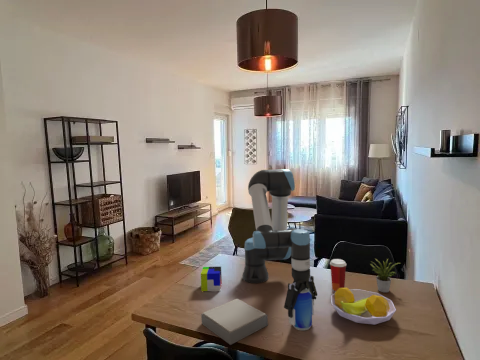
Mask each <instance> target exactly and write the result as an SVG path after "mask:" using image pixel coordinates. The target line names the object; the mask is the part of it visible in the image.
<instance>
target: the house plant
mask: <svg viewBox="0 0 480 360" xmlns="http://www.w3.org/2000/svg"><path fill="white" fill-rule="evenodd" d="M374 259H375V261H376V262H377V263H378V265H379V266H378V265H377V264H376V263H375V262H373V261H371V263H369V265H370V266H371V267H372V271H374V273H376V274H378V275H377V276H376V277H375V279H376V286H377V290H378V291H379V292H381V293H389V292H390V288H391V283H392V278H391V277H392V276H395V274H396V271H391V270H393V269H394V268H395V266H396V265H398V264H401V262H397V263H396V262H395V263H394V264H392V262H388V261H389V258H386V260H385V261H384V260H382V262H383V265H382V263H381V261H380V260H378V259H377V258H374ZM373 264H374V265H375V266H374V265H373ZM391 264H392V265H391Z"/></svg>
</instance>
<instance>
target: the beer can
mask: <svg viewBox="0 0 480 360" xmlns="http://www.w3.org/2000/svg"><path fill="white" fill-rule="evenodd" d="M295 290H296V289H295ZM296 291H298V290H296ZM294 309H295V325H292V326H293V328H294V329H295V330H298V331H308V330H309V329H311V327H312V326H313V315H312V294H311V292H310V291H309V288H308V289H307V288H305V290H302V291H301V292H300V294H299V295H298V298H297V301H296V303H295V306H294Z"/></svg>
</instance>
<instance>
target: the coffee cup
mask: <svg viewBox="0 0 480 360" xmlns="http://www.w3.org/2000/svg"><path fill="white" fill-rule="evenodd" d="M329 266H330V274H331V288H332V291H335V292H336V291H337V289H338V288H345V287H346V286H345V283H346V268H347V263H346V261H345V260H343V259H341V258H333V259H331V260H330V261H329Z"/></svg>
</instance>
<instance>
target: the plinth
mask: <svg viewBox="0 0 480 360" xmlns="http://www.w3.org/2000/svg"><path fill="white" fill-rule="evenodd" d="M200 316H201V318H200V319H201V324H202V325H203V326H204V327H206V328H207V329H208V330H209V331H211V332H212V333H214V334H215V335H216V336H218V337H219V338H220V339H222V340H223V341H225V343H227V344H229V346H231V345H233V344H235V343H237V342H239V341H241V340H243V339H244V338H245V339H246V338H247V337H248V336H250V335H252V334H253V333H256V332H257V331H260V330H261V329H264V328H265V327H267V326H268V325H269V324H268V323H269V322H268V320H269V319H268V314H267V313H265V312H263V311H262V310H259V308H258V309H257V308H256V307H254V306H253V305H250V304H248V303H246V302H245V301H243V300H241V299H239V298H235V299H233V300H231V301H227V302H225V303H222V304H221V305H218V306H216V307H213V308H210V309H208V310H206V311H204V312H202V313H201V315H200Z"/></svg>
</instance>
